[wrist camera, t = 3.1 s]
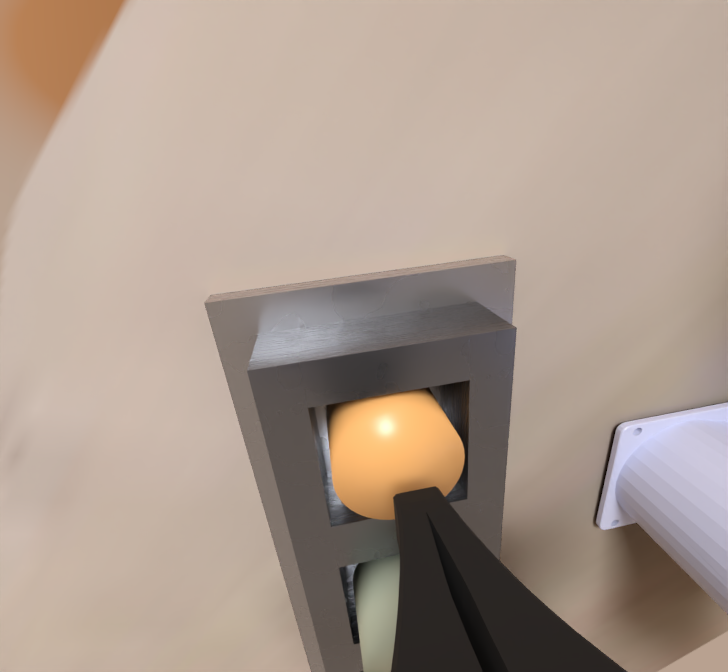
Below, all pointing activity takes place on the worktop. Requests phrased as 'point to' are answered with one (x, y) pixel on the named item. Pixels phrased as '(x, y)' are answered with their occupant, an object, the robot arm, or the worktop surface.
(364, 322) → the button panel
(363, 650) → the sage button
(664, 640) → the worktop surface
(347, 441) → the orange button
